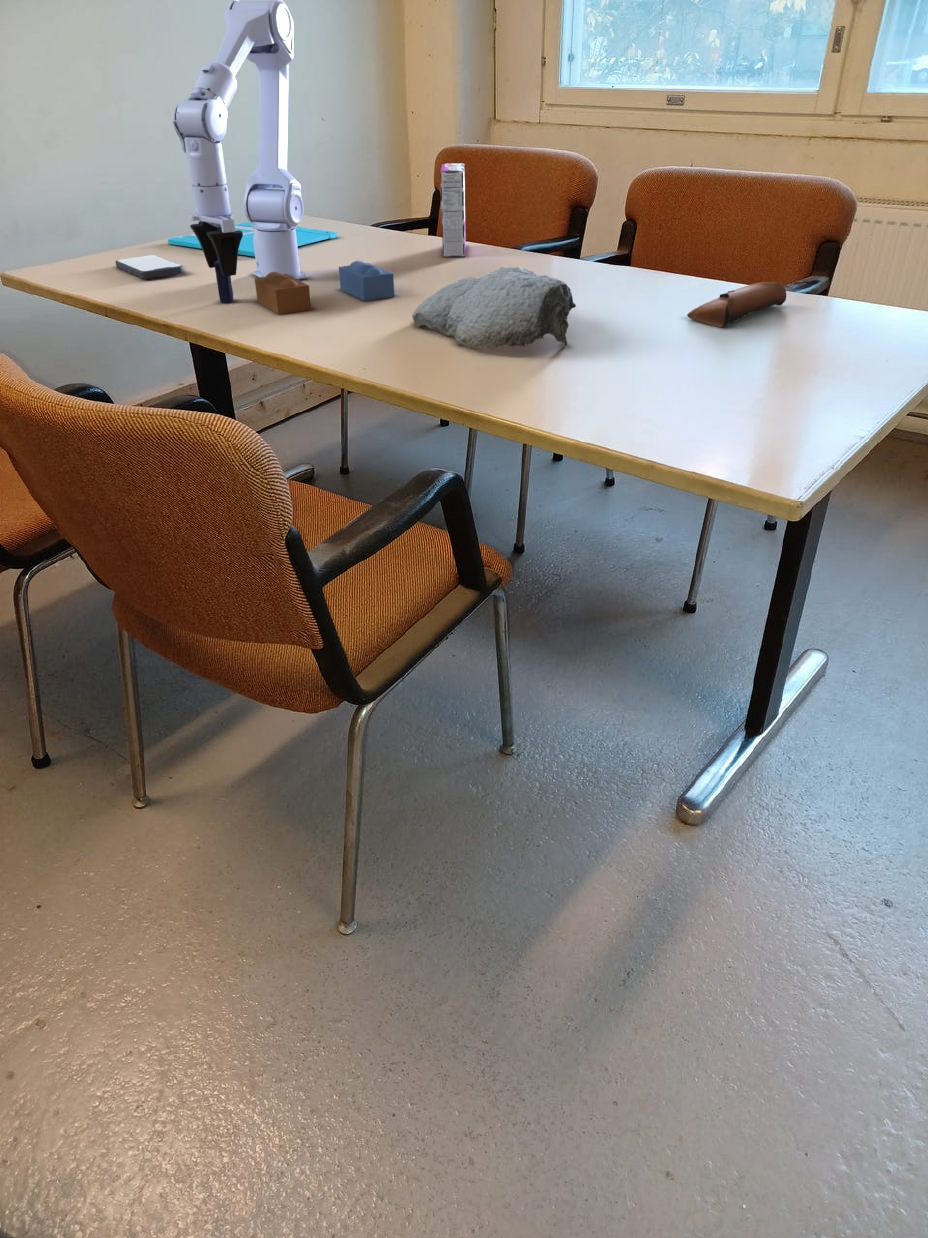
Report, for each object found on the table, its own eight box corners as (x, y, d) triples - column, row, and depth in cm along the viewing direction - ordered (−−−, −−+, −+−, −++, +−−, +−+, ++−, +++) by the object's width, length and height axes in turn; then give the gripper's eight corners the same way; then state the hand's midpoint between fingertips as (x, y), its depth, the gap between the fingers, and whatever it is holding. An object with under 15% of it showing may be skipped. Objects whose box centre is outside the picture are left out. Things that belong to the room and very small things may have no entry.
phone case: (114, 268, 179) (143, 280, 169) (112, 259, 178) (141, 271, 168) (156, 262, 184) (187, 274, 173) (155, 254, 183) (185, 265, 172)
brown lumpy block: (257, 301, 155) (253, 271, 153) (289, 297, 158) (286, 267, 155) (278, 314, 148) (274, 283, 145) (311, 309, 151) (308, 278, 148)
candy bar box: (443, 246, 194) (441, 162, 185) (465, 246, 194) (465, 162, 185) (441, 257, 184) (439, 170, 175) (465, 257, 184) (464, 169, 175)
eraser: (223, 299, 157) (216, 259, 153) (235, 300, 156) (229, 259, 152) (218, 303, 155) (212, 262, 151) (231, 303, 155) (224, 262, 151)
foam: (398, 322, 144) (394, 263, 139) (501, 300, 154) (501, 244, 149) (504, 365, 125) (505, 298, 119) (614, 337, 135) (619, 274, 130)
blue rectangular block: (340, 289, 162) (338, 260, 159) (369, 285, 165) (367, 256, 162) (364, 301, 155) (362, 271, 152) (394, 296, 158) (393, 267, 155)
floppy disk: (258, 257, 185) (257, 252, 184) (167, 243, 197) (166, 239, 197) (338, 236, 203) (338, 232, 202) (250, 225, 216) (249, 221, 215)
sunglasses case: (740, 295, 154) (764, 263, 149) (768, 322, 153) (793, 291, 147) (683, 315, 144) (706, 282, 139) (712, 345, 142) (736, 313, 137)
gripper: (172, 180, 149) (187, 265, 156) (198, 191, 138) (213, 282, 146) (213, 177, 152) (225, 261, 159) (242, 187, 141) (253, 276, 149)
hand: (222, 270), depth 153 cm, fingers open, 7 cm apart
